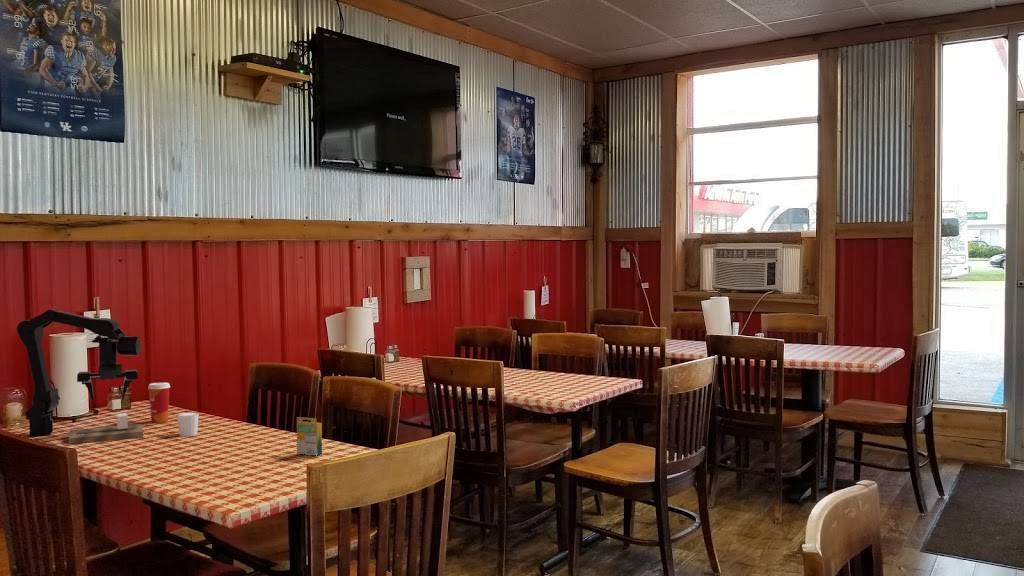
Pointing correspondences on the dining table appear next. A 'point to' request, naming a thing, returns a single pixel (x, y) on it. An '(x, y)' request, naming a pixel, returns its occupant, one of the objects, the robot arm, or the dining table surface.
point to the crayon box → (309, 436)
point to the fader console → (104, 434)
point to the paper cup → (159, 402)
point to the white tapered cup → (188, 423)
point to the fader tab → (122, 421)
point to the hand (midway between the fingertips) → (108, 400)
